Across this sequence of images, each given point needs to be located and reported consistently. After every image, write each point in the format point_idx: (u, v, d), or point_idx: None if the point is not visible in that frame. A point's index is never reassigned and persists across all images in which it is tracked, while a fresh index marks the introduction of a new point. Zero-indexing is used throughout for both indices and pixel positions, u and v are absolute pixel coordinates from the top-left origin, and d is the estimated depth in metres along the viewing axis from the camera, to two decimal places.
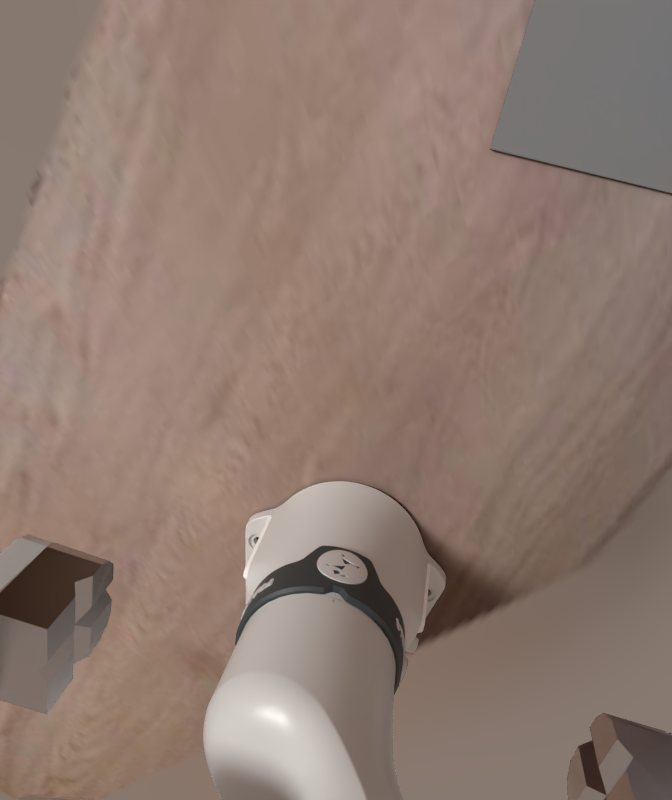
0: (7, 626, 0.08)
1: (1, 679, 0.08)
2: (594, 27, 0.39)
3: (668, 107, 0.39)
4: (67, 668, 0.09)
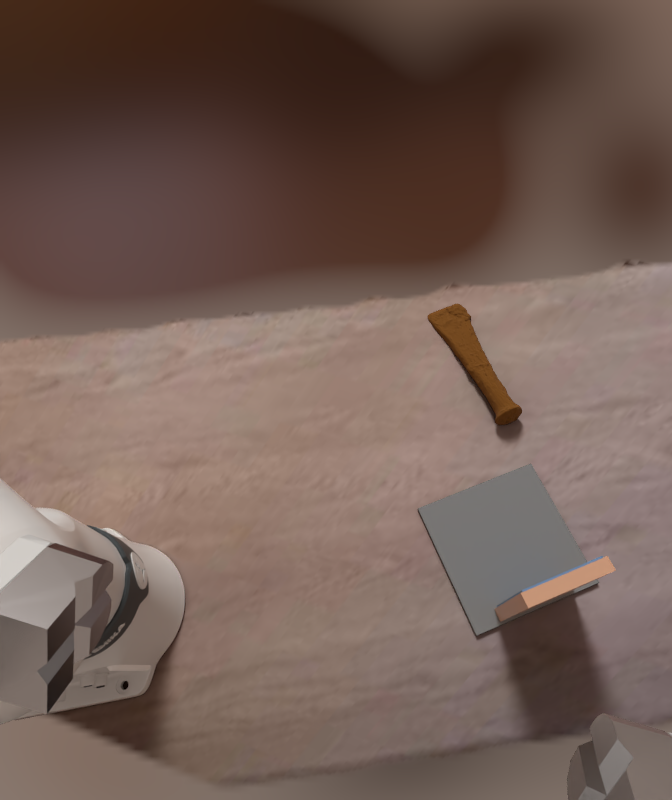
0: (7, 626, 0.08)
1: (1, 679, 0.08)
2: (499, 514, 0.68)
3: (498, 578, 0.65)
4: (67, 668, 0.09)
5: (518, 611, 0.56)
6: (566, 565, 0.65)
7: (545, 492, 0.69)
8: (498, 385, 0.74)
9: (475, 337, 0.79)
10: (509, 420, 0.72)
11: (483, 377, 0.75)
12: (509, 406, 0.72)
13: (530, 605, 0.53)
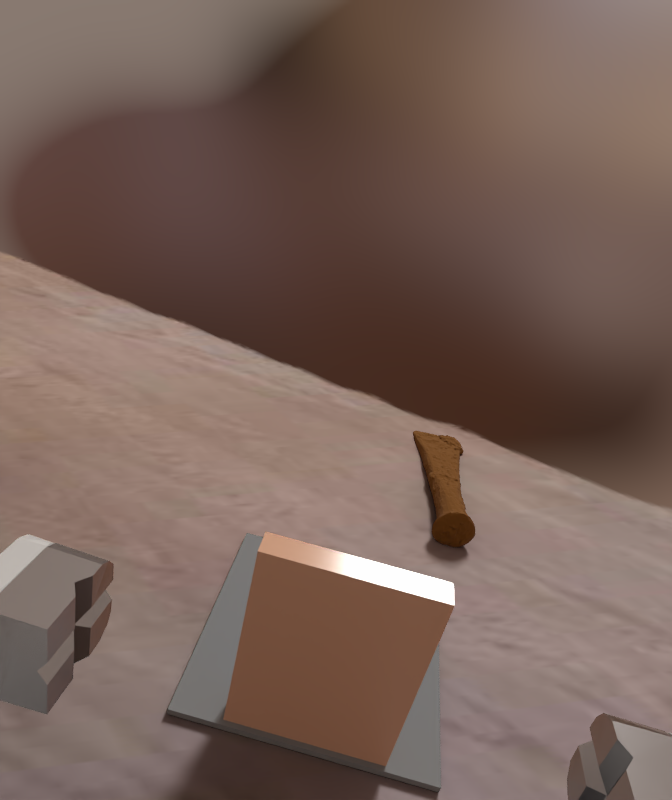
0: (7, 626, 0.08)
1: (1, 679, 0.08)
2: None
3: None
4: (67, 668, 0.09)
5: None
6: None
7: None
8: (457, 496, 0.52)
9: (457, 461, 0.60)
10: (451, 532, 0.48)
11: (443, 484, 0.54)
12: None
13: (264, 550, 0.26)
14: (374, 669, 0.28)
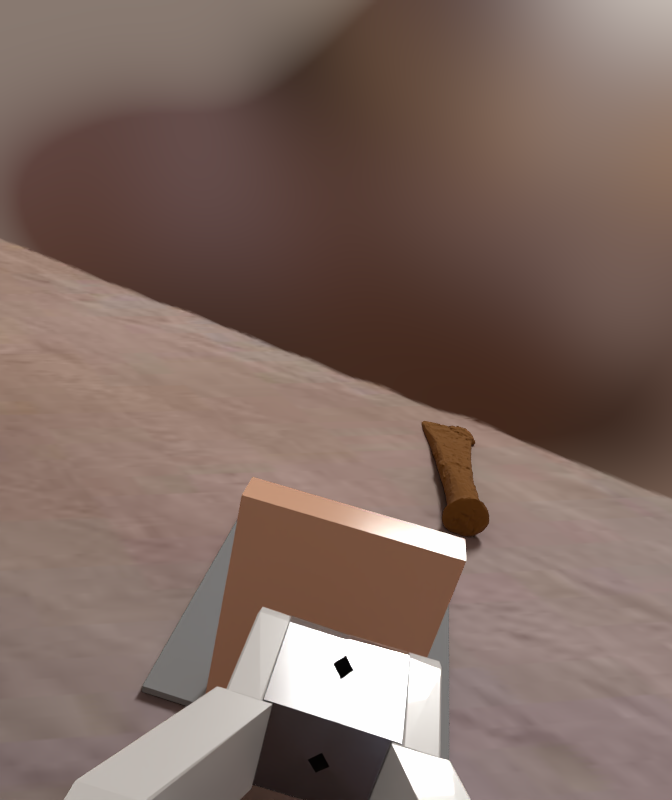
0: (286, 716, 0.08)
1: (263, 765, 0.08)
2: None
3: None
4: None
5: (230, 561, 0.24)
6: None
7: None
8: (469, 483, 0.49)
9: (468, 451, 0.56)
10: (463, 519, 0.45)
11: (454, 471, 0.50)
12: None
13: (249, 495, 0.23)
14: (373, 639, 0.25)
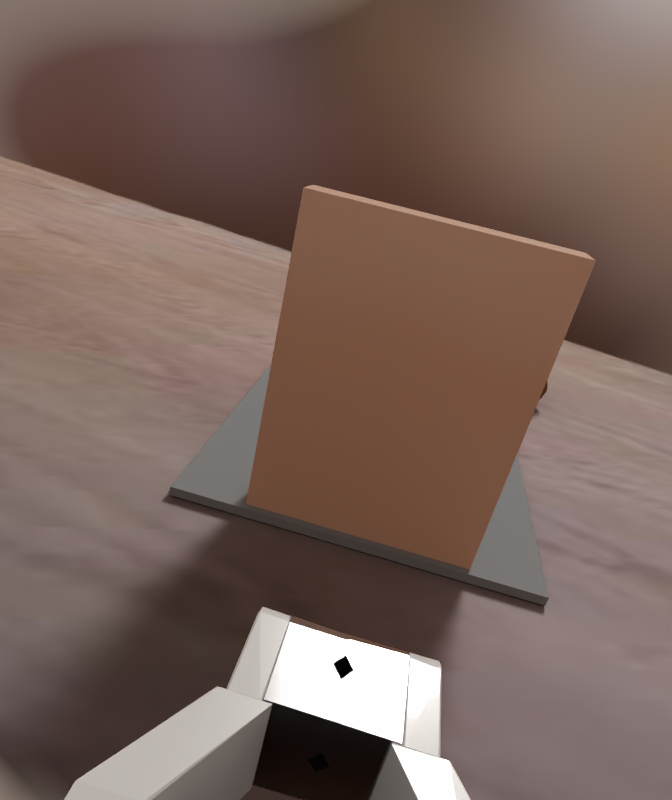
0: (286, 716, 0.08)
1: (263, 766, 0.08)
2: None
3: None
4: None
5: (284, 296, 0.19)
6: None
7: None
8: None
9: None
10: None
11: None
12: None
13: (313, 189, 0.18)
14: (464, 395, 0.20)
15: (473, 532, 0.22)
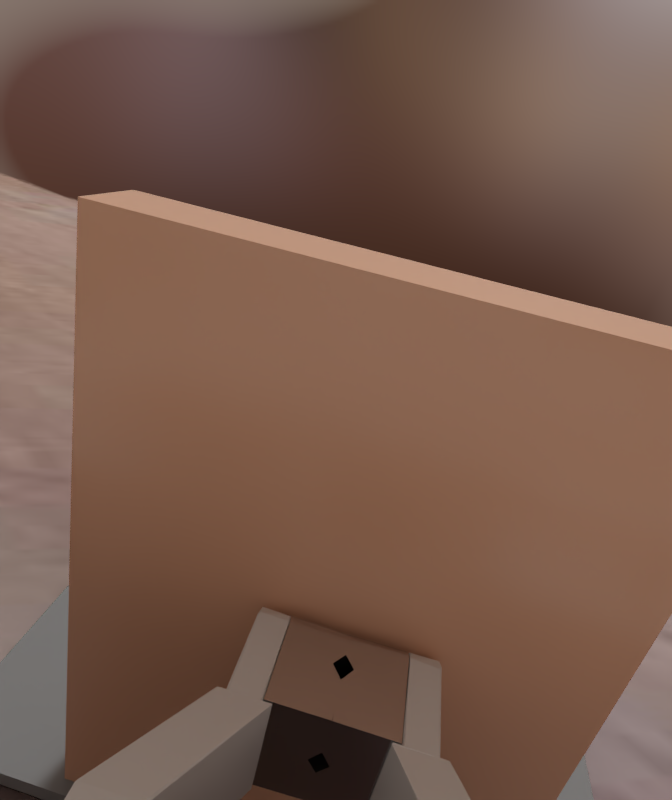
0: (286, 716, 0.08)
1: (263, 765, 0.08)
2: None
3: None
4: None
5: (76, 432, 0.09)
6: None
7: None
8: None
9: None
10: None
11: None
12: None
13: (104, 201, 0.07)
14: (470, 647, 0.09)
15: None
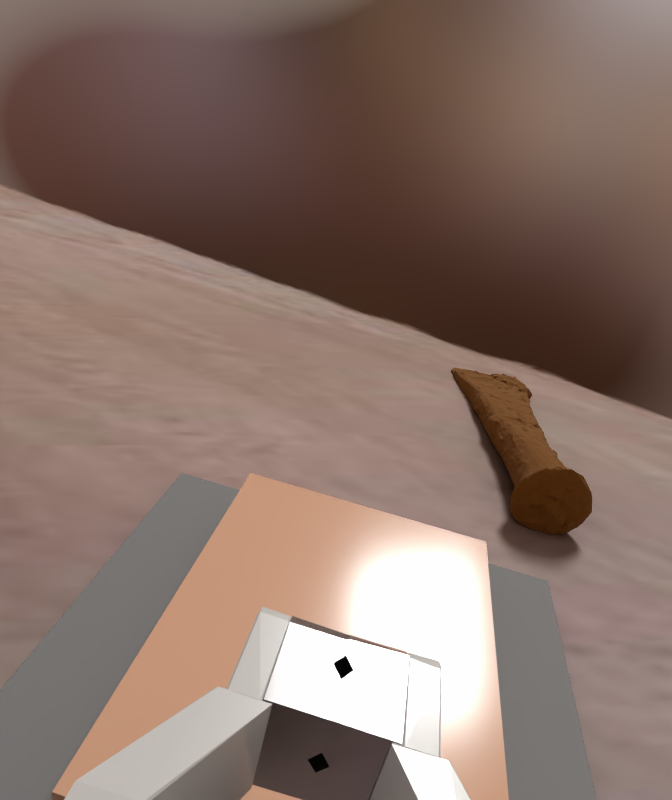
0: (286, 716, 0.08)
1: (263, 765, 0.08)
2: None
3: None
4: None
5: None
6: None
7: (558, 657, 0.19)
8: (547, 448, 0.29)
9: (528, 405, 0.37)
10: (549, 506, 0.25)
11: (517, 429, 0.31)
12: None
13: None
14: (415, 629, 0.17)
15: None
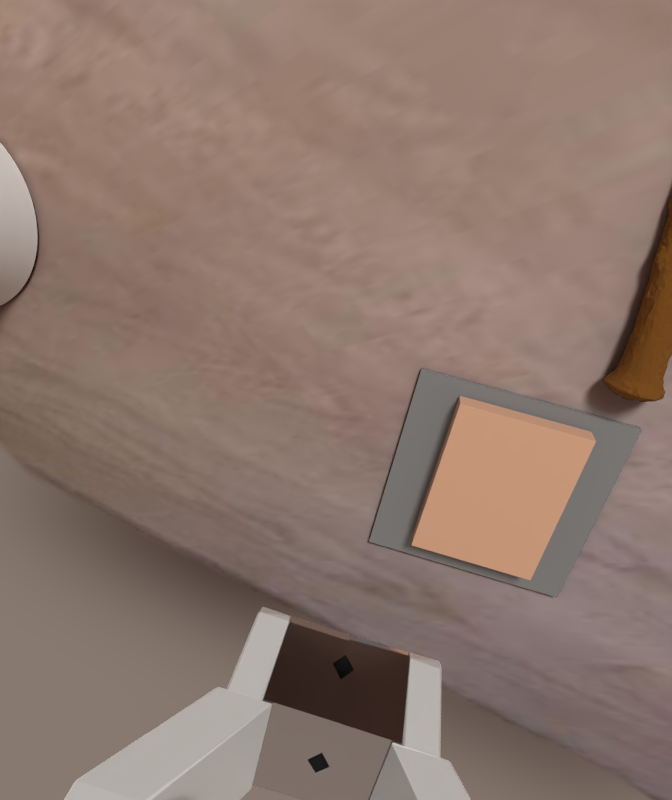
0: (286, 716, 0.08)
1: (263, 765, 0.08)
2: None
3: None
4: None
5: (444, 448, 0.40)
6: (540, 559, 0.44)
7: (614, 476, 0.40)
8: (671, 334, 0.34)
9: None
10: (624, 397, 0.37)
11: (663, 298, 0.34)
12: (645, 388, 0.35)
13: (464, 404, 0.39)
14: (532, 496, 0.40)
15: (533, 561, 0.42)
